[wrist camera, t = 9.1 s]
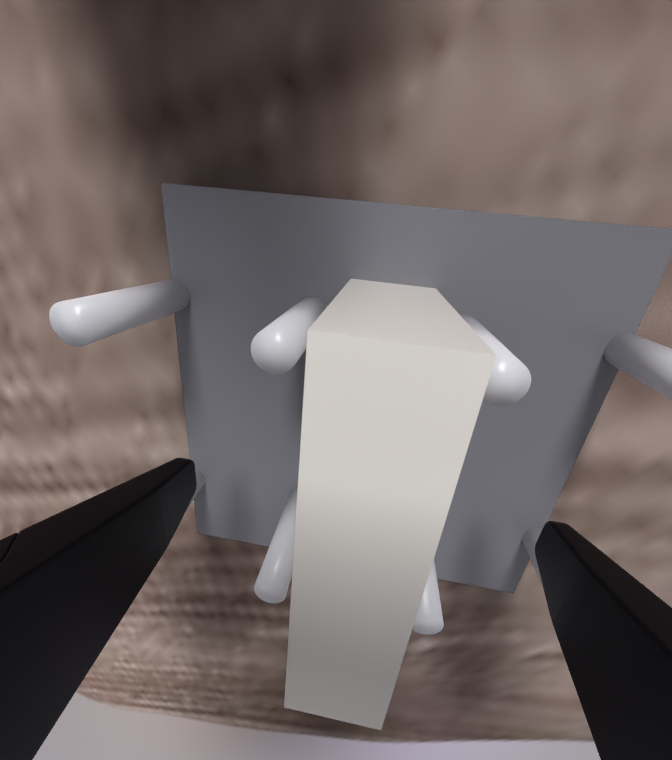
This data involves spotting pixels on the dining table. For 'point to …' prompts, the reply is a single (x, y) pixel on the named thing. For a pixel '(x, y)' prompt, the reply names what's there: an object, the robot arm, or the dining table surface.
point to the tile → (374, 486)
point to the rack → (398, 266)
